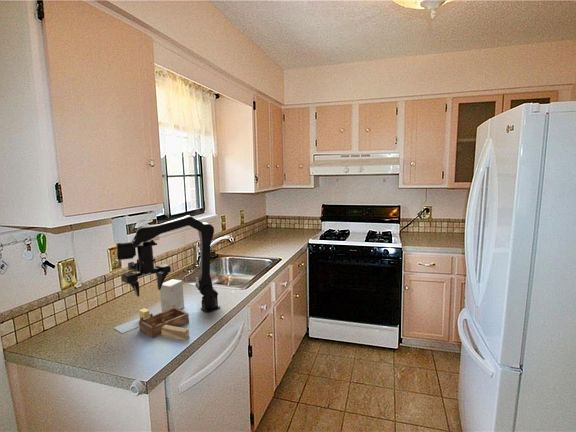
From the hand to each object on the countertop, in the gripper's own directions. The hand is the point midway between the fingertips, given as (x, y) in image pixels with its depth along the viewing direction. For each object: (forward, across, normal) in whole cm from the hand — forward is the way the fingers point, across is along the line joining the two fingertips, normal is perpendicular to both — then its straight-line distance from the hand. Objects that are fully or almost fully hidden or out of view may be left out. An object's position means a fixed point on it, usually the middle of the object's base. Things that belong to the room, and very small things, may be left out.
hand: (148, 293), depth 137 cm
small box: (+13, -12, -3) cm, 18 cm away
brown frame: (+12, -1, +9) cm, 15 cm away
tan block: (+13, +1, +20) cm, 24 cm away
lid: (+13, +6, -3) cm, 15 cm away
